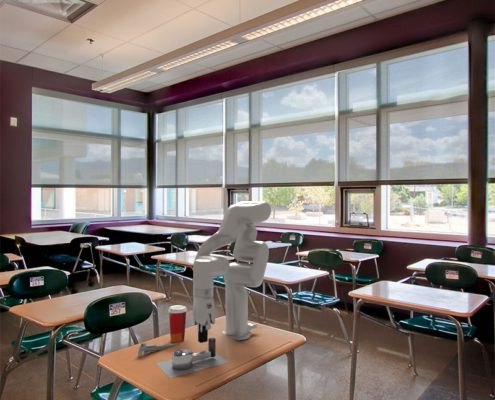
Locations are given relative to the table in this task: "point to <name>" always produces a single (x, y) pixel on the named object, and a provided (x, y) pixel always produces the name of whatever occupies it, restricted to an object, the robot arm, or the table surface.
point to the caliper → (152, 348)
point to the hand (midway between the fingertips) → (202, 341)
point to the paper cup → (177, 323)
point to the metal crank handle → (192, 356)
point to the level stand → (197, 365)
